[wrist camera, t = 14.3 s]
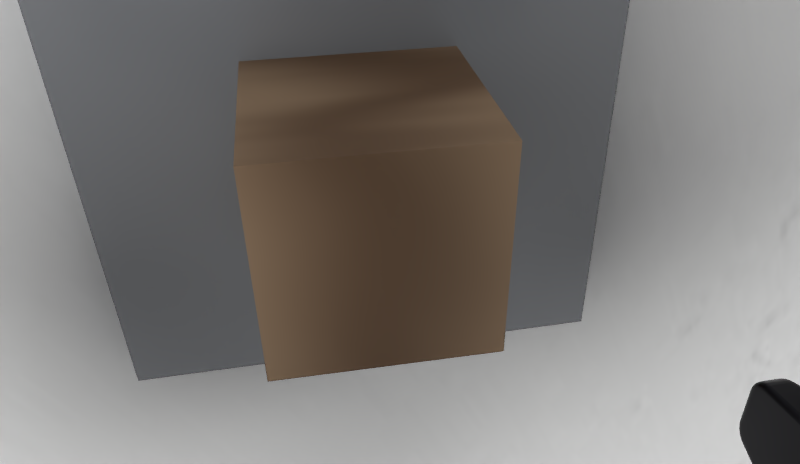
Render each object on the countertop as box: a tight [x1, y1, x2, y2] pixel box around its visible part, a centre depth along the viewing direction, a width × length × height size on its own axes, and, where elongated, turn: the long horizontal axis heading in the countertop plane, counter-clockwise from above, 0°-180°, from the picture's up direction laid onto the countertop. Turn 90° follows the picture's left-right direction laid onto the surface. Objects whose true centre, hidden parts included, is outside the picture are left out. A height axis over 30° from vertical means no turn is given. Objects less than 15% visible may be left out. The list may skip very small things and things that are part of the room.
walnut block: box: [233, 46, 522, 381], centre depth 14 cm, size 4×4×4 cm
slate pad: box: [18, 0, 630, 381], centre depth 16 cm, size 12×12×1 cm
